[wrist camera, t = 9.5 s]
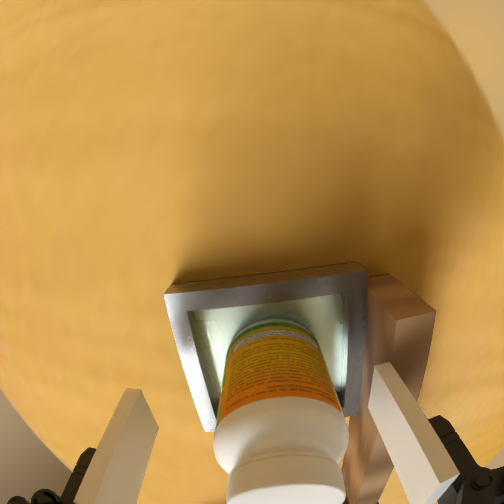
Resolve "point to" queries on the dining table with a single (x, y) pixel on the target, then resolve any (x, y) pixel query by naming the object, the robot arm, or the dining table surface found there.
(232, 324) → the socket
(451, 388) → the dining table surface
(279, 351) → the supplement bottle
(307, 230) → the dining table surface
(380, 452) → the door edge rail
